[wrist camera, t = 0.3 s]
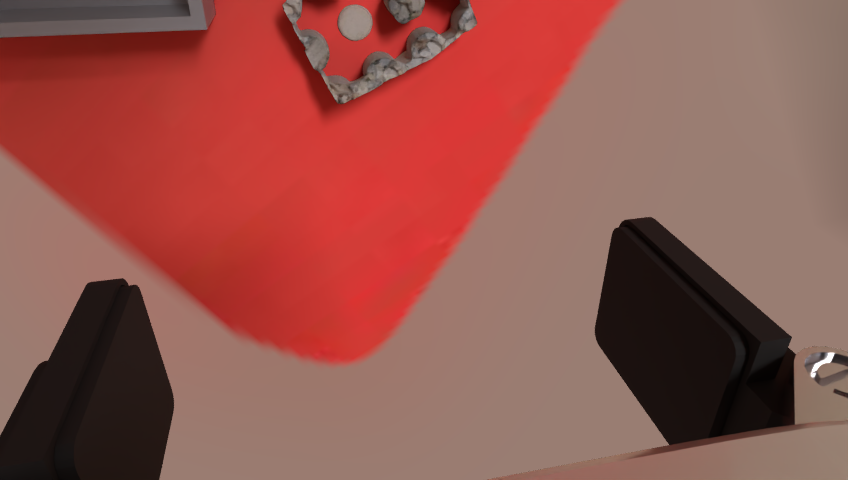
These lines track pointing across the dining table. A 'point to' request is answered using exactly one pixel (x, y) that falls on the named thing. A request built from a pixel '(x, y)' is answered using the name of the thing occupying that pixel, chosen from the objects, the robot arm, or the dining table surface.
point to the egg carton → (378, 66)
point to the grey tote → (102, 16)
